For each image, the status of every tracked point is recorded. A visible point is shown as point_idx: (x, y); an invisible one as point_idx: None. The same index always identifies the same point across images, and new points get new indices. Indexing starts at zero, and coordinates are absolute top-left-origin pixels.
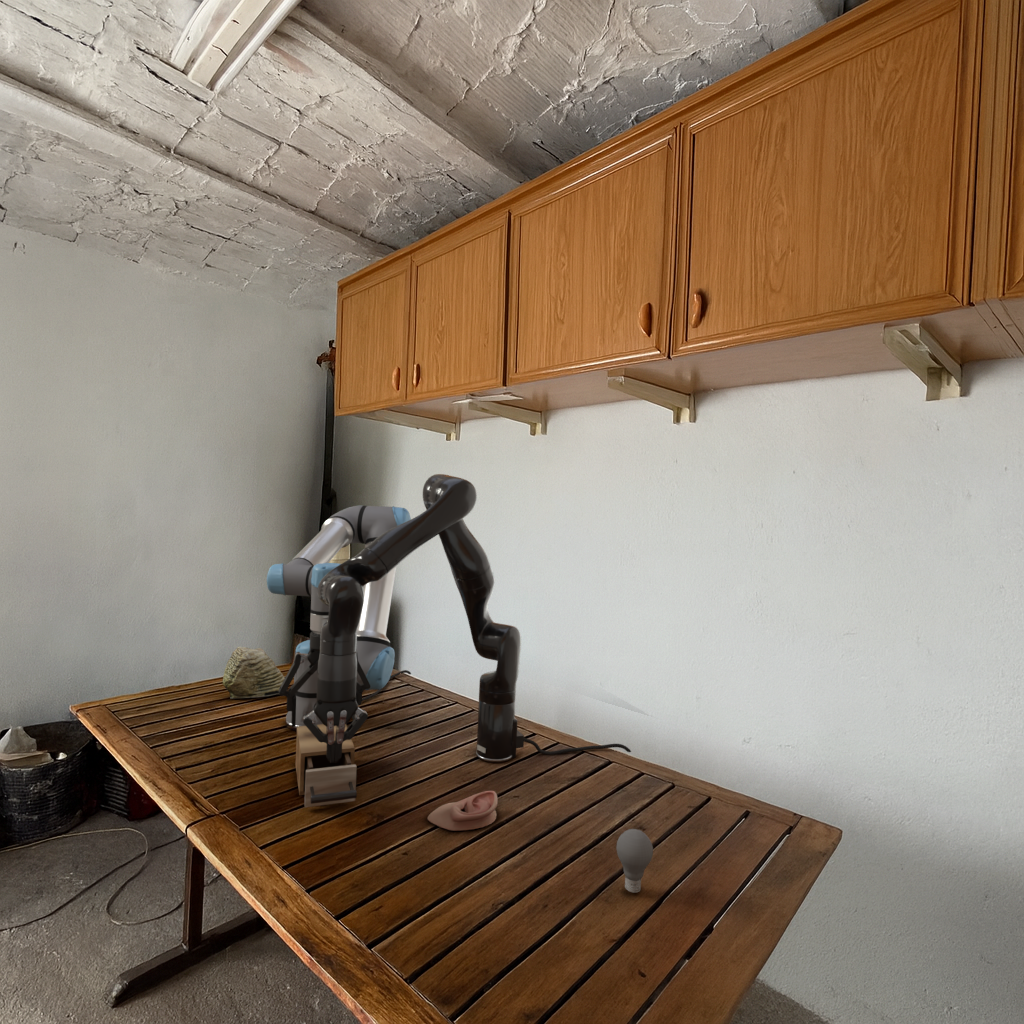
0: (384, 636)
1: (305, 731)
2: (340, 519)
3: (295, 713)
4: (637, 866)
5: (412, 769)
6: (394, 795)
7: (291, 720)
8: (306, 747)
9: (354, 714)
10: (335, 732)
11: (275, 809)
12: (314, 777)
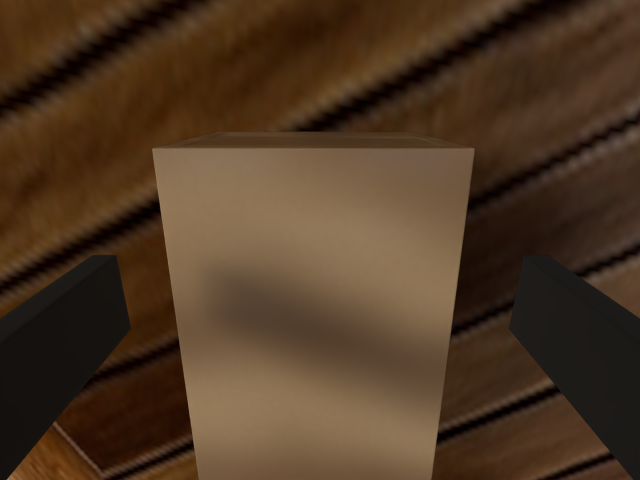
0: None
1: (211, 251)
2: None
3: (76, 390)
4: None
5: (620, 288)
6: (494, 427)
7: (83, 265)
8: (222, 445)
9: (538, 355)
10: (379, 306)
11: (176, 422)
12: None
